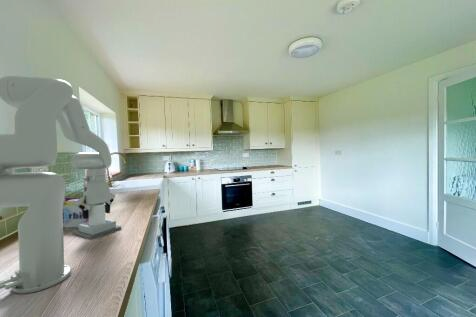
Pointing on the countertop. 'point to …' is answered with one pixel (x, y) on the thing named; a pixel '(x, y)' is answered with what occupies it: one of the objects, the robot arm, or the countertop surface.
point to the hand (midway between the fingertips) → (97, 215)
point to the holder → (96, 229)
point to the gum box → (72, 213)
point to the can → (96, 214)
